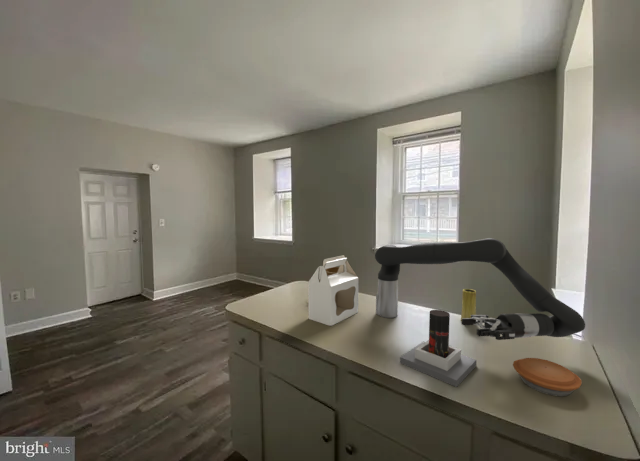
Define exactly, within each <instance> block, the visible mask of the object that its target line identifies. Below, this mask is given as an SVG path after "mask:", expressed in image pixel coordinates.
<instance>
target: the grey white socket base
mask: <svg viewBox="0 0 640 461" xmlns="http://www.w3.org/2000/svg"><path fill="white" fill-rule="evenodd" d="M477 362H478V361H477V359H476V358H473V357H470V356H467V355H464V354H462V349H461V348H458V347H455V346H452V345H449V353H448V357H446V358H443V357H440V356H437V355H435V354H432V353H429V339H428V340H427V341H421V342H420V343H418V344H417V345H415V346H414V347H413V348H411V349H409V350H408V351H406V352H405V353H404V354H402V355H400V356H399V363H400V364H402V365H404V366H407V367H409V368H411V369H413V370H416V371H418V372H420V373H423V374H426V375H428V376H430V377H433V378H434V379H437V380H438V381H439V380H440V381H441V382H444V383H446V384H448V385H450V386H453V387H455V388H458V386H459V385H460V384H461V383H462V382H463V381H464V380H465V379H466V378H467V377H468V375H470V373H471V372H472V371H473V370H474V369H475V368H476V367H477Z"/></svg>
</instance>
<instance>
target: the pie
mask: <svg viewBox="0 0 640 461" xmlns="http://www.w3.org/2000/svg"><path fill="white" fill-rule="evenodd" d="M512 367H513V368H514V370H515V371H516V373H518V376H519V377H520V379H521V380H522V381H523V383H524V384H525V385H527V386H528V387H530V388H531V389H533V390H535V391H537V392H540V393H543V394H546V395H549V396H553V397H554V396H555V397H566V396H570V395H571V394H572V393H573V392H574V391H576V390H578V389H580V388H581V386H582V384H583V383H582V381H583V380H582V379H581V378H580V377H579V376H578V375H577V374H576V373H574V372H573V371H572V370H570V369H568V368H567V367H566V366H563V365H561V364H559V363H556V362H553V361H551V360H547V359H543V358H538V357H525V358H520V359H519V358H518V359H516V360H514V361H513V363H512Z"/></svg>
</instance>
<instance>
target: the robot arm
mask: <svg viewBox="0 0 640 461" xmlns="http://www.w3.org/2000/svg"><path fill="white" fill-rule="evenodd" d="M374 259H375V261H376V262H377V263H378V264H380V265H381V266H380V268H379V269H380V270H379V271H378V273H377V293H376V294H375V314H376V315H378V316H379V317H382V318H387V319H393V318H396V317H398V307H399V306H398V305H399V304H398V303H399V275H400V270H401V265H403V264H412V265H413V264H415V265H443V264H446V265H447V264H452V263H458V262H481V263H488V264H489V263H490V264H491V265H493V266H494V267H495V268H496V269H497V270H499V271H500V272H501V274H503V275H504V276H505V277H506V278H507V279H508V281H510V283H511V284H512V285H513V287H514V288H515V290H517V291H518V293H519V295H521V296H522V297H523V299H525V300H526V301H527V302H528V303H529V304H530V305H531V307H532V308H534V310H536V311H537V312H539V313H522V312H521V313H520V312H519V313H518V312H517V313H516V312H515V313H500V314H499V315H498V316H497V317H496V318H495V317H489V315H488V314H476V315H471V318H462V322H461V325H462V326H477V327H479V328H476V336H477V337H490V338H495V340H497V341H503V340H515V339H518V338H521V339H522V338H531V337H545V336H546V337H550V338H551V337H553V338H564V337H568V336H569V337H570V336H571V335H575V334H577V333H580V332H582V331H584V330H585V329H586V322H585V319H584V318H583V316H582V314H580V313H579V312H578V311H576V310H575V309H574V308H572V307H570V306H569V305H567V304H566V303H565V302H563V301H561V300H559V299H558V298H556V297H555V296H553V295H552V293H551V292H549V290H547V289H546V288H545V287H544V286H543V285H542V284H541V283H540V282H539V281H537V279H536V278H534V277H533V276H532V275H531V274H530V273H529V272H527V270H525V269H524V268H523V267H522V265H520V264H519V263H518V261H517V260H516V259H515V258H514V257H513V256H512V255H511V253H510V252H509V250H508V248H507V247H506V245H505V244H504V242H502V241H501V240H499V239H496V238H493V237H492V238H491V237H488V238H483V239H477V240H471V241H463V242H462V241H461V242H459V241H457V242H456V241H433V242H432V241H431V242H424V243H417V244H412V245H407V246H397V245H394V244H386V245H382V246H380V247H378V249H377V250H375V253H374ZM541 312H542V313H541ZM543 312H546V313H548V314H551V315H547V314H544V313H543Z"/></svg>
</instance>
